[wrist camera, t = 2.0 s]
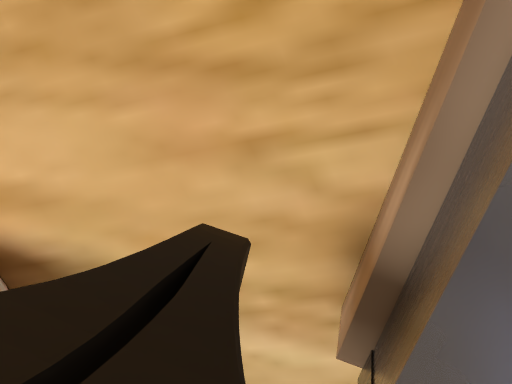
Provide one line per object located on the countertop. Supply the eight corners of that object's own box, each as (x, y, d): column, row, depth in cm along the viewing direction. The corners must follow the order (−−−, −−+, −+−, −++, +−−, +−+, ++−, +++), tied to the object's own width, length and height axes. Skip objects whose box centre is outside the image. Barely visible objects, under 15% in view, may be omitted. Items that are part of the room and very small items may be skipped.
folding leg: (555, -47, 7) (635, -79, 5) (709, -17, 7) (870, -38, 5) (357, 378, 12) (354, 458, 10) (442, 410, 12) (459, 501, 9)
